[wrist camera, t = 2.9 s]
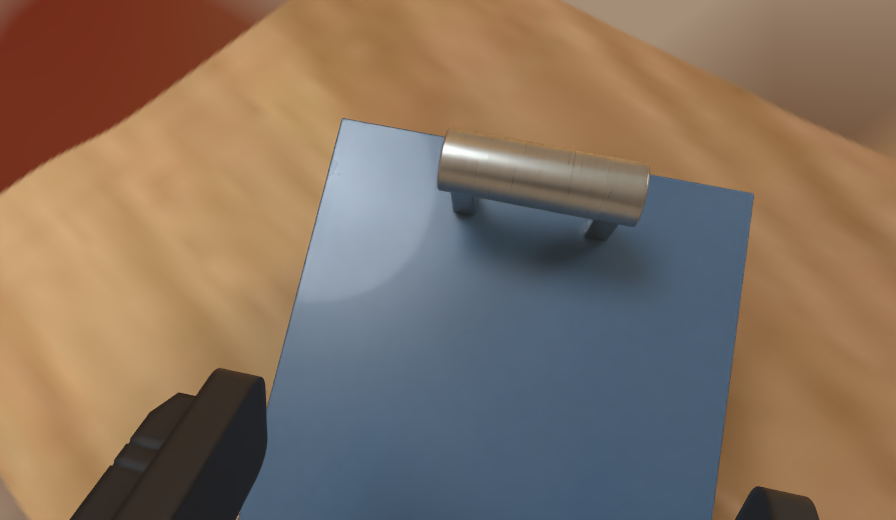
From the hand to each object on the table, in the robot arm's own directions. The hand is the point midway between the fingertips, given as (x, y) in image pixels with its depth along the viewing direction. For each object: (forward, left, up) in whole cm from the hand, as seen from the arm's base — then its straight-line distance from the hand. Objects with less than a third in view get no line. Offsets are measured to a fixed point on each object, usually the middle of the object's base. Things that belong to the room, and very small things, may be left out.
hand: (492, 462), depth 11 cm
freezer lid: (0, 0, -9) cm, 9 cm away
